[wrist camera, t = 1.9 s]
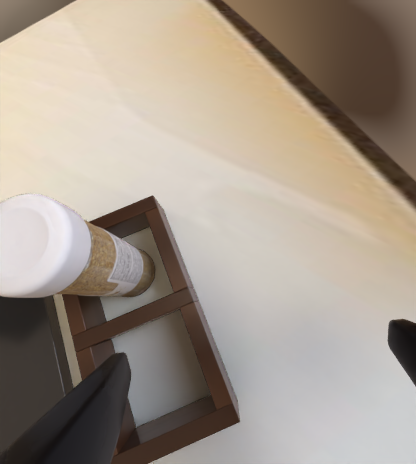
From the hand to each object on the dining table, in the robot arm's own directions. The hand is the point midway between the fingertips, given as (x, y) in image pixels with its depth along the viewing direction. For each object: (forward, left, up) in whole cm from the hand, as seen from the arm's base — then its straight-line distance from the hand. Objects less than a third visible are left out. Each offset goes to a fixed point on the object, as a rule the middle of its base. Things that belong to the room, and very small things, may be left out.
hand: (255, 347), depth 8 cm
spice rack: (-4, +7, -14) cm, 16 cm away
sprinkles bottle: (-1, +10, -14) cm, 17 cm away
